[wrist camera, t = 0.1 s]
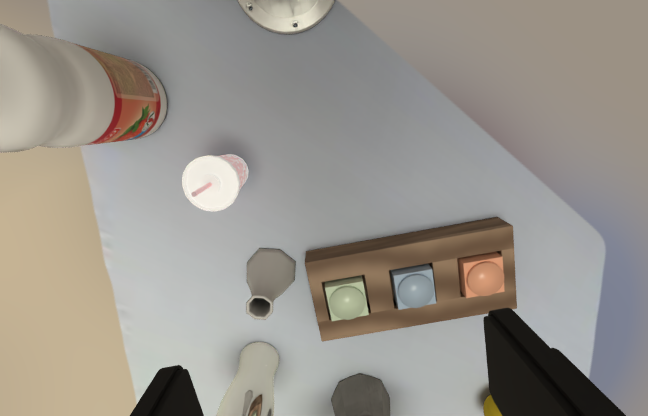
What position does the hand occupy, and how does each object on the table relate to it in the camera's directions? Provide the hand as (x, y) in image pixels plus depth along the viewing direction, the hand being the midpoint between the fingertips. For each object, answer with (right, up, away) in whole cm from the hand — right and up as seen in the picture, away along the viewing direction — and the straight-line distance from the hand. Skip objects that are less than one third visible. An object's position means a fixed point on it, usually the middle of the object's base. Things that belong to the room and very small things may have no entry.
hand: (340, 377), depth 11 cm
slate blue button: (+11, -5, +37) cm, 39 cm away
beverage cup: (-13, +10, +35) cm, 39 cm away
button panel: (+11, -4, +39) cm, 41 cm away
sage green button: (+3, -6, +37) cm, 38 cm away
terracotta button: (+20, -3, +36) cm, 42 cm away
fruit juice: (-25, +19, +33) cm, 45 cm away
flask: (-8, -4, +39) cm, 40 cm away
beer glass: (-10, -18, +43) cm, 48 cm away
